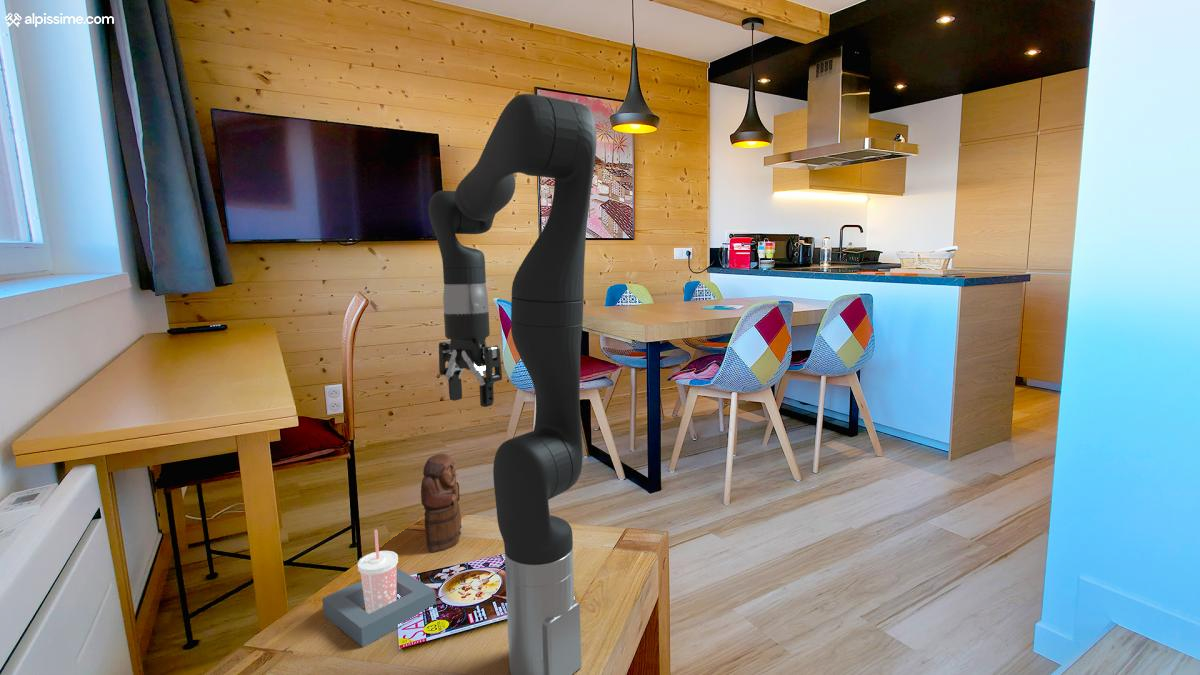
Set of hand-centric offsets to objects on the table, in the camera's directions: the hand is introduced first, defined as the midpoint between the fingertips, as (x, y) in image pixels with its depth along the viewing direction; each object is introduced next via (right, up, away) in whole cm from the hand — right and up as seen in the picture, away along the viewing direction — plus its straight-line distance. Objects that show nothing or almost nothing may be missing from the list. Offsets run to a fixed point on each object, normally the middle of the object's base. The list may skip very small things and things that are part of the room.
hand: (471, 402), depth 99 cm
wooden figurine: (-9, -31, +18) cm, 37 cm away
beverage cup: (-13, -34, -7) cm, 37 cm away
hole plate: (-13, -33, -7) cm, 36 cm away
